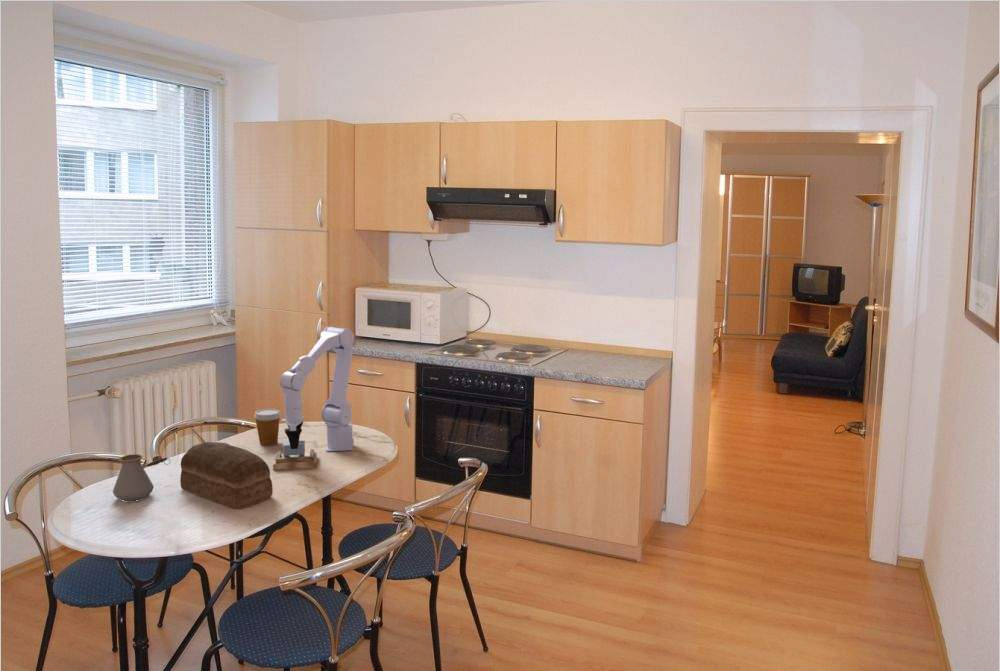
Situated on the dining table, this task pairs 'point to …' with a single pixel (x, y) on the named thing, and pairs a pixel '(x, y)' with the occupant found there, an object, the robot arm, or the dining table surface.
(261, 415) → the disposable coffee cup
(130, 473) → the coffee pot
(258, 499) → the bread
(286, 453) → the blue block with feet
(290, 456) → the dock
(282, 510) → the dining table surface
